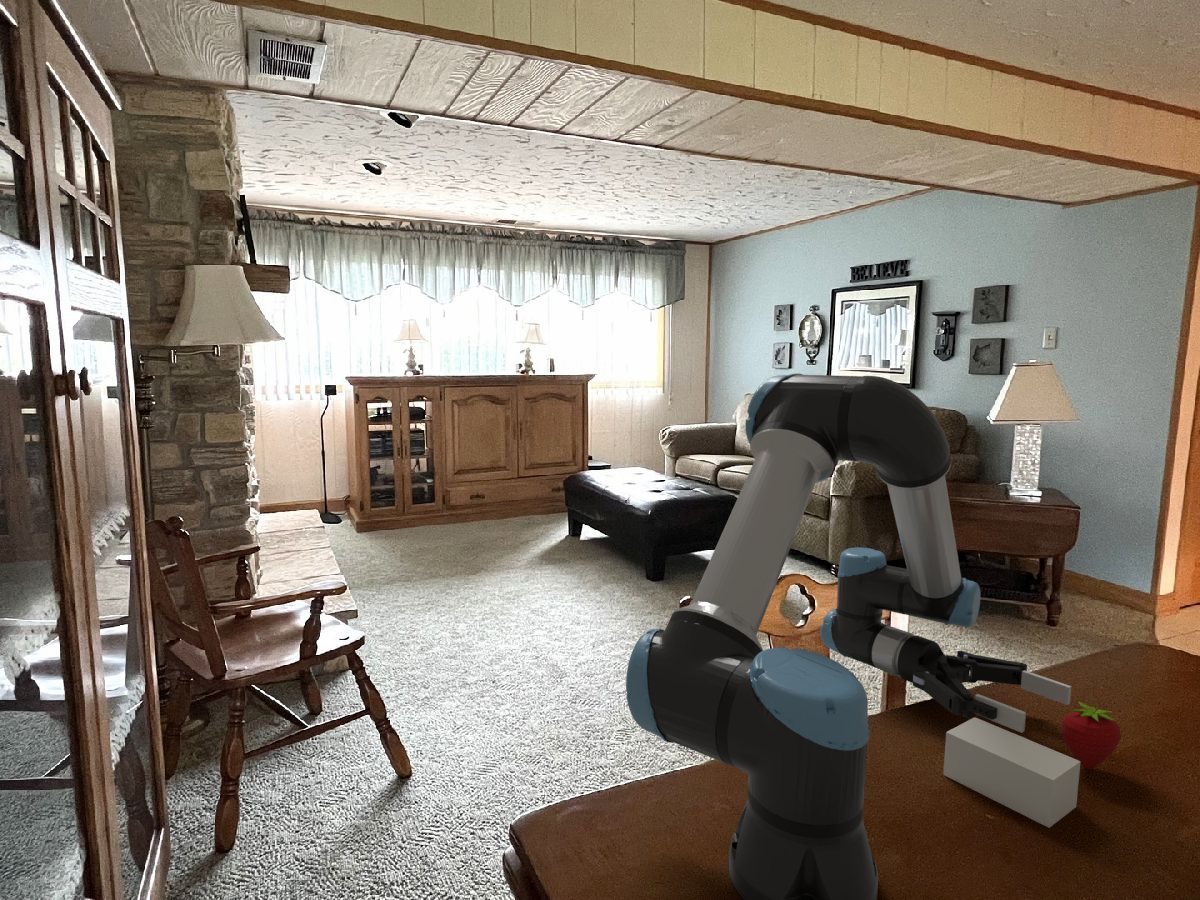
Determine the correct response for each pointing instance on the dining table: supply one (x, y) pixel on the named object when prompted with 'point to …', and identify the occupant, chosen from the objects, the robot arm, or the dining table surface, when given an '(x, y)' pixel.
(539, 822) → the dining table surface
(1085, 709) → the strawberry
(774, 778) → the robot arm
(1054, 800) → the block
